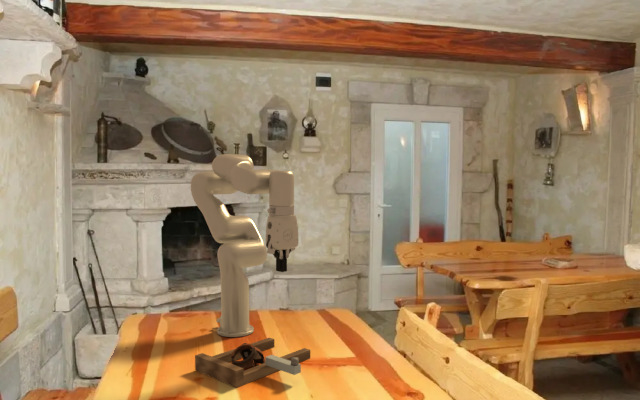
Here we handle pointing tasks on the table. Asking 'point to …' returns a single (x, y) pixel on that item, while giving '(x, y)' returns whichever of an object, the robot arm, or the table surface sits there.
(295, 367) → the gray rectangular bar
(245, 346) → the pottery mug
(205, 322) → the table surface
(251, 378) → the frame
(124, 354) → the table surface
